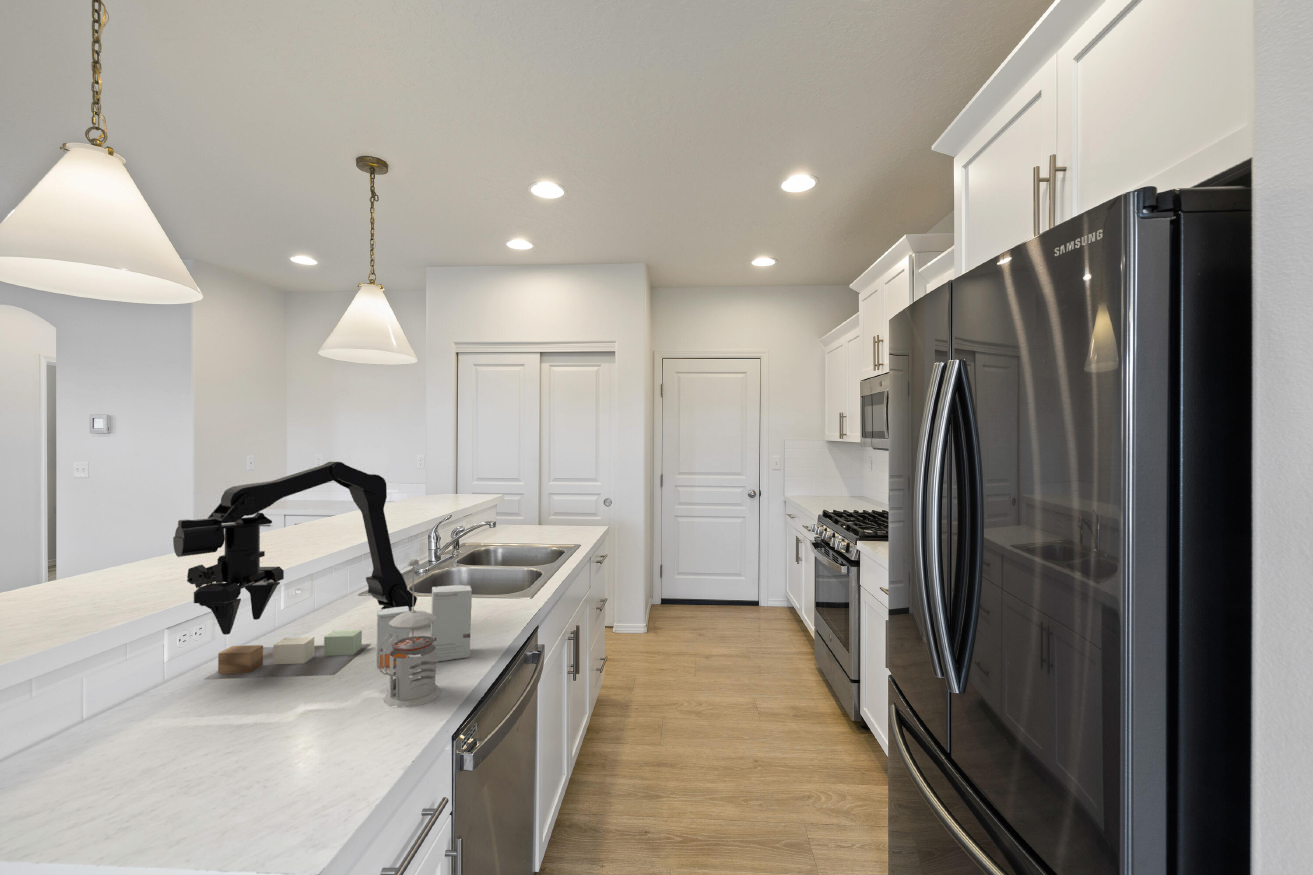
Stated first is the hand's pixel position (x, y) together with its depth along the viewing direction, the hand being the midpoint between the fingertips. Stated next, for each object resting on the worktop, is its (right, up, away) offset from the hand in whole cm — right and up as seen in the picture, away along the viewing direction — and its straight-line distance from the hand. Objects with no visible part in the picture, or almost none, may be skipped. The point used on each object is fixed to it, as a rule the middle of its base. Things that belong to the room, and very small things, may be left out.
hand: (242, 626), depth 112 cm
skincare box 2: (+38, -10, +10) cm, 41 cm away
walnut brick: (0, -9, 0) cm, 9 cm away
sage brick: (+15, -9, +9) cm, 20 cm away
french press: (+38, -10, -10) cm, 40 cm away
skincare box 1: (+29, -10, +3) cm, 31 cm away
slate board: (+8, -10, +4) cm, 13 cm away
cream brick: (+8, -9, +4) cm, 12 cm away
